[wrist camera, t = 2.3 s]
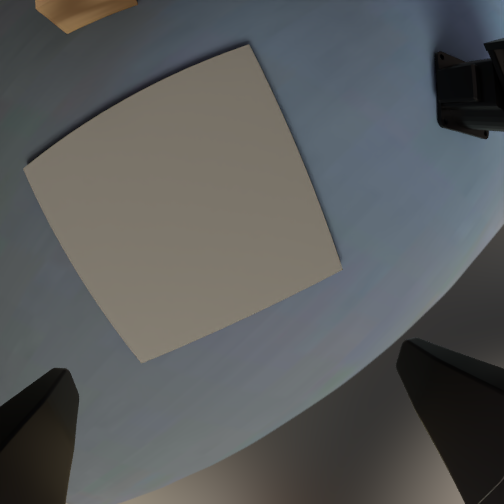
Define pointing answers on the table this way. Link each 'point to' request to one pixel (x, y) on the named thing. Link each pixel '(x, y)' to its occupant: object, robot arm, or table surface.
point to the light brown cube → (79, 11)
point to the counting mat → (186, 205)
